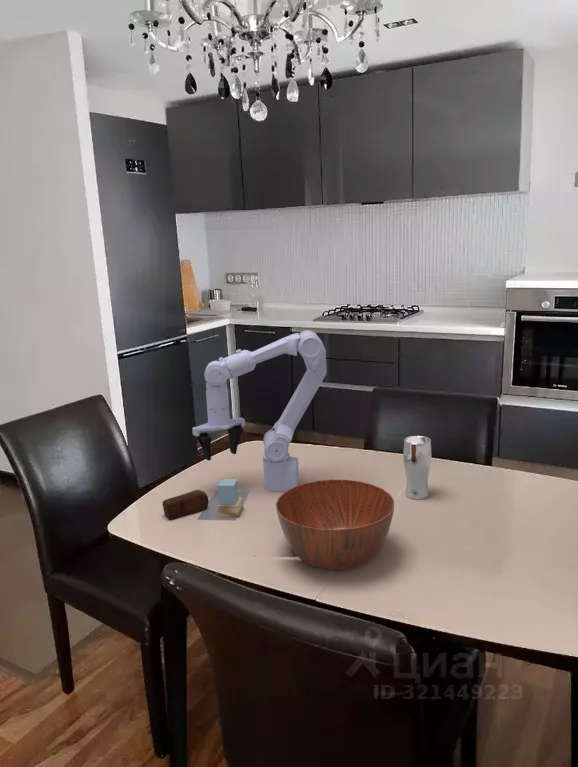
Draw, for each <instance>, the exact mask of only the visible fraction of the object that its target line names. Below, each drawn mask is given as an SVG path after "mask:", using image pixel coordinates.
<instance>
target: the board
mask: <svg viewBox="0 0 578 767" xmlns="http://www.w3.org/2000/svg"><path fill="white" fill-rule="evenodd" d="M249 494H250V490H249V491H247V490H246V491H245V490H241V491H240V490H238V496H239V497H242V499H243V505H244V504H245V502H246V500H247V498H248V496H249ZM208 501H209V502H208V507H207V509H205V510H202V511H201V513H200V515H199V516H198V517H197V520H198V521H200V520H201V521H204V520H205V521H206V520H207V521H237V518H238V517H219V514H218V505H219V499H218V490H214V492H213V494H212V495H211V497H210V499H208Z"/></svg>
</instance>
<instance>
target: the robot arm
mask: <svg viewBox="0 0 578 767" xmlns="http://www.w3.org/2000/svg"><path fill="white" fill-rule="evenodd" d="M298 352H299V354H300V356H301V357H302V359H303V361H304V364H305V366H306V371H305V373H304V374H303V377H302V378H301V380H300V381H299V383H298V385H297V387H296V389H295V391H294V392H293V395H292V396H291V398H290V400H289V401H288V403H287V404H286V407H285V408H284V410H283V412H282V414H281V416H280V417H279V419H278V420H277V421H276V422H275V423H274V425H273V427H272V428H271V429H270V430H267V431H266V433H265V434H264V435H263V440H262V441H263V446H264V449H263V450H264V451H263V452H264V454H263V455H262V463H263V480H264V482H263V484H264V489H265V490H268V491H271V492H282V491H283V492H285V491H287V490H289V489H291V488H293V487H295V486H298V485H300V473H299V472H300V470H299V460H298V459H299V458H298V457H294V456H291V455H290V453H289V447H290V444H291V442H292V440H293V436H294V432H295V430H296V428H297V426H298V425H299V423H300V421H301V419H302V417H303V416H304V415H305V414H304V413H305V412H306V411H307V409H308V408H309V405H310V404H311V402H312V400H313V399H314V397H315V394H316V393H317V391H318V390H319V387H320V386H321V384H322V382H323V381H324V379H325V377H326V375H327V372H328V370H327V358H326V357H327V350H326V348H325V345H324V343H323V341H322V340H321V338H320V336H318V335H317V333H316V332H315V331H313V330H310V329H305V330H303V331H301V332H300V333H298V332H296V333H292V334H289V335H287V336H285V337H282V338H279V339H278V340H276V341H274V342H271V343H269V344H267V345H264V346H262V347H260V348H258V349H255V350H254V351H250V350H247V349H243V350H242V349H241V348H240V349H239V348H238V349H237V350H235V353H232V354H231V355H228V356H226V357H223V356H220V357H218V360H213V361H210V362H209V363H208V364H207V366H206V367H205V371H204V380H205V381H206V383H205V387H206V390H205V393H206V394H205V397H206V409H207V411H206V412H207V422H206V423H203V424H200V425H198V426H194V427H192V435H193V436H195V438H196V440H197V442H198V443H199V445H200V448H201V449H202V452H203V455H204V459H206V460H207V461H211V460H212V453H211V451H212V450H211V445H212V437H211V436H209V435H210V433H216V432H219V431H223V430H227V433H228V434H227V435H228V438H229V450H230V451H229V452H230V453H231V454H233V455H237V451H238V446H239V443H240V440H241V437H242V436H243V434H244V432H245V431H244V428H243V427H245V426H246V420H245V418H243V417H236V418H230V417H231V416H230V401H229V389H228V385H227V384H228V382H227V381H228V380H232V379H234V378H237V377H239V376H243V375H245V374H247V373H250V372H252V371H254V370H255V368H256V366H257V364H259V363H262V362H266V361H267V360H270V359H273V358H275V357H278V356H281V355H284V354H287V355H292V356H296V357H297V356H298Z"/></svg>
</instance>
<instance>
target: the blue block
mask: <svg viewBox="0 0 578 767" xmlns="http://www.w3.org/2000/svg"><path fill="white" fill-rule="evenodd" d="M238 484H239V482H238V479H236V478H235V479H234V478H232V479H231V478H230V479H229V478H226V479H224V478H223V479H221V480H220V481H219V483H218V484H217V491H218V499H219V505H235V504H236V502H237V500H238V498H239V496H238V491H239V485H238Z"/></svg>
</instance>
